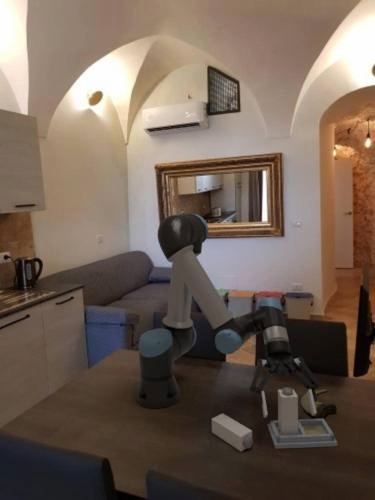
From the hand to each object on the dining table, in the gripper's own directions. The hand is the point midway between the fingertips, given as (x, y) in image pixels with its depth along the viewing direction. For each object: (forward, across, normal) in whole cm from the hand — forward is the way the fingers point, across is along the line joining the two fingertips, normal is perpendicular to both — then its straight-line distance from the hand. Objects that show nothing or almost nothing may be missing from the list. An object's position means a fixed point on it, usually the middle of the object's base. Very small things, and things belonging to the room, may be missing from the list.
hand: (290, 415), depth 109 cm
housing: (+4, -4, -7) cm, 9 cm away
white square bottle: (+3, 0, -6) cm, 7 cm away
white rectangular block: (+4, +16, -8) cm, 19 cm away
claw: (-7, -14, -20) cm, 26 cm away
